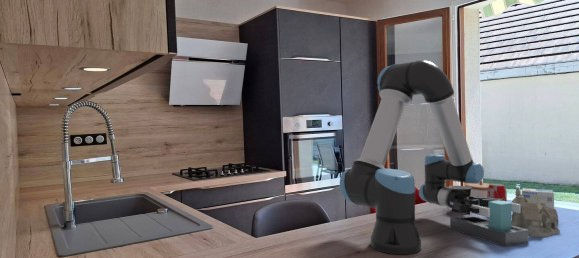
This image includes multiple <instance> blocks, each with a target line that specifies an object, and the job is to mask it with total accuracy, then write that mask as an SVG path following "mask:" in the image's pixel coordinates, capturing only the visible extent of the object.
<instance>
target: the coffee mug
mask: <svg viewBox="0 0 579 258" xmlns="http://www.w3.org/2000/svg"><path fill="white" fill-rule="evenodd" d="M448 187H450V188H455V189H459V190H464V191H465V192H466V193H467V194H468V196H470V195H471V187H467V186H466V185H449V186H448ZM451 210H452V212H455V213H461V212H460V211H458V210H455V209H452V208H451ZM465 213H466V211H465Z"/></svg>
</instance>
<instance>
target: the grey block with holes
mask: <svg viewBox="0 0 579 258" xmlns="http://www.w3.org/2000/svg"><path fill="white" fill-rule="evenodd" d="M449 219H450V221H449V223H450V224H449V228H450V229H451V230H455V231H457V232H460V233H463V234H466V235H469V236H472V237H475V238H477V239H481V240H484V241H488V242H489V243H493V244H496V245H498V246H502V247H505V248H506V247H512V246H517V245H523V244H529V237H528V230H527V229H523V228H519V227H516V226H512V225H511V229H509V230H503V231H501V230H497V229H494V228H491V227H489V218H487V217H484V216H480V215H476V214H473V213H470V215H467V214H465V215H464V214H463V215H457V216H450V218H449Z"/></svg>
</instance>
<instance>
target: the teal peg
mask: <svg viewBox="0 0 579 258" xmlns="http://www.w3.org/2000/svg"><path fill="white" fill-rule="evenodd" d="M508 202H509V201H507V202H503V201H499V200H498V201H491V202H488V208H489V209H490V217H488V219H489V227H491V228H494V229H497V230H501V231H503V230H509V229H511V221H512V211H511V203H512V202H511V203H508Z"/></svg>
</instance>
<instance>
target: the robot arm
mask: <svg viewBox="0 0 579 258" xmlns="http://www.w3.org/2000/svg"><path fill="white" fill-rule="evenodd" d="M376 84H377V85H378V86H377V90H378V92H379V93H378V94H379V95H378V96H379V97H380V98H381V99H380V103H379V106H378V107H377V111H376V113H375V116H374V119H373V121H372V124H371V126H370V130H369V132H368V135H367V137H366V141H365V144H364V146H363V149H362V151H361V154H360V157H359V158H357V159H355V160H354V161H353V163H352V166H351V167H350V168H347V169H346V170H344V171H343V172H342V173H341V175H340V179H339V190H340V192H341V195H342V197H343V198H344V199H345V200H346V201H347V202H350V203H352V204H354V205H358V206H359V205H360V206H364V207H369V208H371V209H375V223H374V226H373V229H372V233H371V235H370V246H371V248H372V249H373V250H376V251H378V252H381V253H386V254H391V255H412V254H416V253H418V252H420V251H422V240H421V237H420V234H419V231H418V227H417V224H416V185H415V184H416V183H415V178H414V176H413V174H411V173H410V172H408V171H405V170H401V169H393V168H385V165H386V161H387V159H388V156H389V153H390V151H391V147H392V144H393V142H394V139H395V136H396V133H397V130H398V128H399V124H400V121H401V119H402V115H403V113H404V109H405V107H407V106H409V105H411V103H412V101H413V98H414V95H421V96H423V98H424V101H425V102H426V103H427V104H429V106H430V109H431V111H432V114H433V117H434V121H435V122H436V123H435V124H436V126H437V129H438V131H439V134H440V137H441V140H442V143H443V146H444V149H445V152H446V155H447V157H448V159H446V156H445V155H444V154H437V153H436V154H432V153H431V154H426V155H425V156H424V183H422V184H420V186H419V190H418V195H419V198H421V200H422V201H425V202H426V203H430V204H433V205H437V206H440V207H441V206H442V207H446V209H447V210H449V209H451V210H452V209H455V210H458V211H460V212H459V213H462V214H463V213H464V214H465V213H466V214H465V215H471V214H473V215H476V216H480V217H484V218H489V217H490V209H489V208H487V207H488V202H491V201H498V200H499V201H503V202H506V200H505V199H504V198H502V199H494V198H485V197H479V196H477V197H474V196H468V194H467V193H466V192H465V191H464V190H459V189H455V188H450V187H449V186H446V181H452V182H457V183H458V182H459V183H463V184H464V183H465V184H467V183H473V184H477V183H480V182H481V181H483V178H484V176H485V170H484V167H483V165H482V164H481V163H478V162H474V160H473V157H472V154H471V152H470V148H469V144H468V142H467V138H466V135H465V133H464V129H463V125H462V124H461V121H460V116H459V114H458V111H457V108H456V105H455V101H454V99H453V96H454V95H455V90H454V88H453V85H452V83H451V81H450V79H449V77H448V76H447V75H446V72H444V71H443V69H442V68H440V67H439V66H438V65H437V64H435V63H434V62H431V61H428V60H423V59H422V60H415V61H409V62H404V63H395V64H391V65H389V66H386V67H384V68H383V69H381V71H380V73H379V74H378V77H377V83H376ZM507 202H508V203H511V213H513V212H517V213H521V205H520V204H515V203H512V202H510V201H507ZM478 204H480V205H478ZM482 206H484V207H482ZM465 211H466V212H465Z"/></svg>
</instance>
